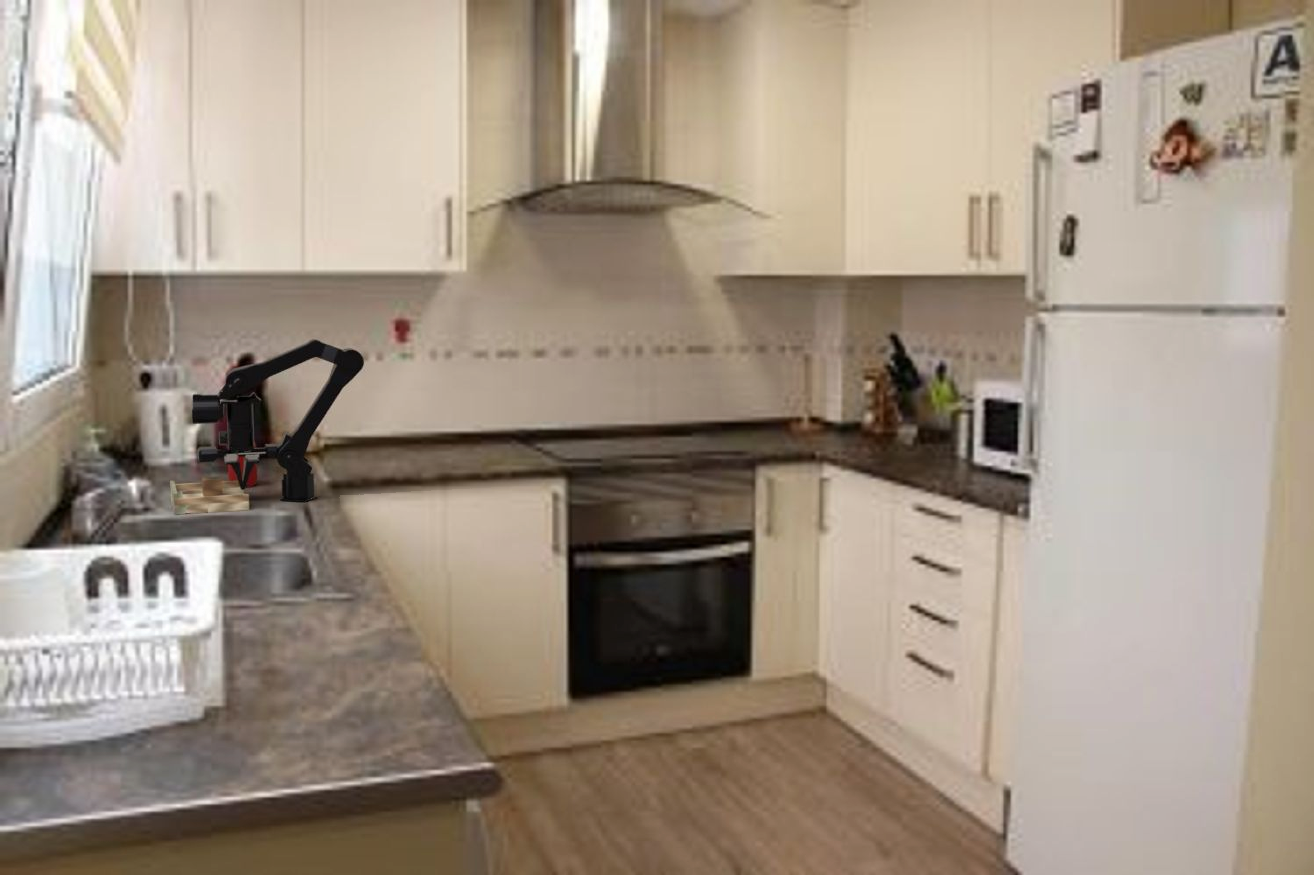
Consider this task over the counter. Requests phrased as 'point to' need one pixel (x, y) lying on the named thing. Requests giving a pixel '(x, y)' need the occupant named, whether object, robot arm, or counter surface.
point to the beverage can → (232, 476)
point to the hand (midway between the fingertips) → (242, 489)
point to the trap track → (207, 498)
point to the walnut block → (212, 486)
